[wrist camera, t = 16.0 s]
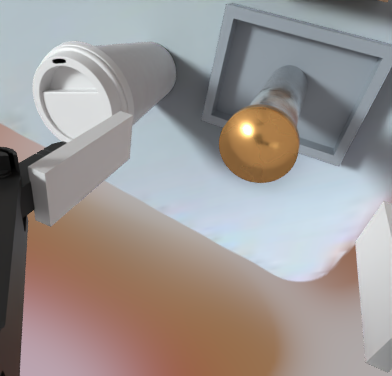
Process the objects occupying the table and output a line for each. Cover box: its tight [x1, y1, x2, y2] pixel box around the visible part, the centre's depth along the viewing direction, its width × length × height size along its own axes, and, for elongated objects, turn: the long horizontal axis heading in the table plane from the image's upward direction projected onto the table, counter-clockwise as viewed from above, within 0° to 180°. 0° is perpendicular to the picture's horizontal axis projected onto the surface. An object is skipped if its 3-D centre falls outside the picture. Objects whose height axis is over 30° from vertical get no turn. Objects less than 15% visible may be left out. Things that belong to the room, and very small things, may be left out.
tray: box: [201, 3, 392, 166], centre depth 33 cm, size 12×16×2 cm
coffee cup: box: [33, 41, 176, 143], centre depth 33 cm, size 10×10×15 cm
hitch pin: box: [219, 65, 308, 183], centre depth 27 cm, size 5×5×17 cm
